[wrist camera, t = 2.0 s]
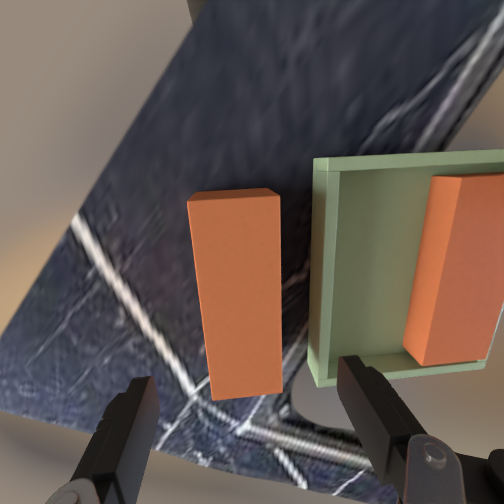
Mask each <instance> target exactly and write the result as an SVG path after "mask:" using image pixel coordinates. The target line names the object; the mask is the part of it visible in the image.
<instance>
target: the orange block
mask: <svg viewBox="0 0 504 504" xmlns="http://www.w3.org/2000/svg"><path fill="white" fill-rule="evenodd" d="M187 206H188V214H189V221H190V229H191V237H192V245H193V252H194V260H195V268H196V276H197V283H198V291H199V299H200V307H201V314H202V322H203V330H204V338H205V345H206V353H207V361H208V369H209V376H210V384H211V392H212V399H213V400H222V399H231V398H240V397H249V396H257V395H266V394H275V393H282V324H281V238H280V195H278V194H276V193H275V192H273V191H272V190H270V189H268V188H255V189H238V190H221V191H203V192H196V193H195V194H194V195H193V196H192V197H191V198H190V199H189V200H188V201H187Z"/></svg>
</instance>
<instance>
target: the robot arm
mask: <svg viewBox="0 0 504 504" xmlns="http://www.w3.org/2000/svg"><path fill="white" fill-rule="evenodd" d="M337 391H338V395H339V398H340V400H341V402H342V404H343V406H344V408H345V410H346V412H347V415H348V417H349V419H350V421H351V423H352V425H353V427H354V429H355V431H356V433H357V435H358V437H359V439H360V441H361V443H362V446H363V448H364V450H365V452H366V454H367V456H368V458H369V460H370V462H371V464H372V466H373V468H374V470H375V472H376V474H377V476H378V479H379V481H380V483H381V485H389V484H393V486H394V488H395V489H396V491H397V493H398V496H397V504H504V449H496V450H493V451H492V452H491V453H490V455H489V458H488V459H483V458H478V457H473V456H468V455H463V454H459V453H456V452H454V451H453V450H452V449H451V448H450V447H449V446H448V445H446V444H445V443H444V442H442V441H441V440H439V439H437V438H435V437H433V436H430V435H428V434H427V432H426V431H425V430H424V429H423V427H422V426H421V424H420V423H419V422H418V420H417V419H416V418H415V416H414V415H413V414H412V412H411V411H410V410H409V409H408V407H407V406H406V404H405V403H404V402H403V400H402V399H401V398H400V397H399V396H398V394H397V392H396V391H395V390H394V388H392V387H391V384H390V383H389V382H388V380H387V379H386V378H385V376H384V375H383V374H382V373H380V372H379V371H378V370H376V369H375V368H374V367H372V366H368V367H366V366H365V364H364V363H363V362H362V360H361V359H360V357H359V356H358V355H349V356H340V357H339V359H338V371H337ZM159 411H160V406H159V399H158V395H157V390H156V385H155V381H154V377H153V376H145V377H136V378H133V379H132V380H131V383H130V385H129V387H128V389H127V392H125V393H119V394H118V395H117V396H116V397H115V398H114V399H113V400H112V401H111V402H110V403H109V404H108V406H107V408H106V410H105V412H104V414H103V416H102V418H101V421H100V422H99V424H98V426H97V428H96V432H94V434H93V436H92V438H91V440H90V442H89V444H88V446H87V448H86V450H85V452H84V454H83V456H82V458H81V460H80V462H79V464H78V466H77V468H76V470H75V472H74V474H73V476H72V478H71V480H70V482H69V483H67V484H65V485H64V486H62V487H61V488H60V489H58V491H56V492H55V493H54V494H53V495H52V496H51V497H50V498H49V500H48V501H47V502H46V503H45V504H136V501H137V497H138V493H139V490H140V486H141V482H142V479H143V475H144V471H145V468H146V464H147V460H148V456H149V453H150V449H151V445H152V442H153V438H154V434H155V431H156V427H157V423H158V419H159Z"/></svg>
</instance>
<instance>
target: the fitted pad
mask: <svg viewBox="0 0 504 504" xmlns="http://www.w3.org/2000/svg"><path fill="white" fill-rule="evenodd" d="M503 302H504V172H489V173H471V174H454V175H436V176H432V177H431V183H430V189H429V195H428V200H427V206H426V212H425V218H424V223H423V229H422V235H421V241H420V246H419V252H418V258H417V264H416V269H415V275H414V281H413V287H412V292H411V298H410V304H409V310H408V315H407V321H406V327H405V333H404V338H403V344H402V346H403V347H404V348H405V349H406V350H407V351H408V352H409V353H410V354H411V355H412V356H413V357H414V358H415V359H416V361H417V362H418V363H419V364H420V365H421V366H428V365H437V364H446V363H455V362H464V361H473V360H482V359H486V357H487V354H488V351H489V347H490V344H491V341H492V338H493V334H494V331H495V328H496V325H497V321H498V318H499V315H500V312H501V308H502V305H503Z"/></svg>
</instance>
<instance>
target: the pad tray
mask: <svg viewBox="0 0 504 504" xmlns="http://www.w3.org/2000/svg"><path fill="white" fill-rule="evenodd" d="M489 172H504V149H488V150H469V151H468V150H467V151H447V152H427V153H407V154H387V155H367V156H347V157H328V158H314V159H313V192H312V226H311V261H310V296H309V330H308V365H309V368H310V370H311V373H312V375H313V377H314V380H315V383H316V385H317V387H326V386H336V385H337V371H338V359H339V357H340V356H349V355H358V356H359V357H360V359H361V360H362V362H363V363H364V364H365V366H366V367H368V366H372V367H374V368H375V369H376V370H378V371H379V372H380V373H382V374H383V375H384V376H385V378H386V379H387V380H388V379H397V378H406V377H414V376H423V375H431V374H440V373H449V372H458V371H466V370H475V369H483V368H485V365H486V361H487V358H488V355H489V352H490V349H491V346H492V342H493V339H494V336H495V333H496V330H497V327H498V323H499V320H500V317H501V314H502V310H503V307H504V302H503V305H502V308H501V312H500V315H499V318H498V321H497V325H496V328H495V331H494V334H493V338H492V341H491V344H490V347H489V351H488V354H487V357H486V359H482V360H473V361H464V362H455V363H446V364H437V365H428V366H421V365H420V364H419V363H418V362H417V361H416V359H415V358H414V357H413V356H412V355H411V354H410V353H409V352H408V351H407V350H406V349H405V348H404V347H403V346H402V344H403V338H404V333H405V327H406V321H407V315H408V310H409V304H410V298H411V292H412V287H413V281H414V275H415V269H416V264H417V258H418V252H419V246H420V241H421V235H422V229H423V223H424V218H425V212H426V206H427V200H428V195H429V189H430V183H431V177H432V176H436V175H454V174H471V173H489Z"/></svg>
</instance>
